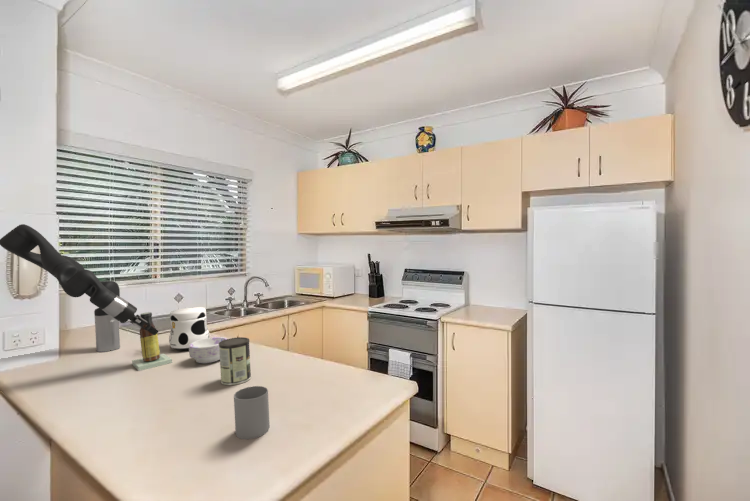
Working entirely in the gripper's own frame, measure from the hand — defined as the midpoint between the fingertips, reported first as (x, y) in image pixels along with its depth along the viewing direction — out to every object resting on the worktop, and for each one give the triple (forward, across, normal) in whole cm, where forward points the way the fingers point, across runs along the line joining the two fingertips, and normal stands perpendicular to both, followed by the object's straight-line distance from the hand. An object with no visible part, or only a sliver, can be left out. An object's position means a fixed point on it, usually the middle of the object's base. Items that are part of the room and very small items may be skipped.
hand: (154, 331), depth 151 cm
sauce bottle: (+7, 0, -9) cm, 12 cm away
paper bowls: (+21, +15, +2) cm, 26 cm away
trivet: (+8, 0, -10) cm, 13 cm away
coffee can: (+20, +46, +1) cm, 50 cm away
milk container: (+22, -13, +3) cm, 26 cm away
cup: (+11, +84, -8) cm, 85 cm away
